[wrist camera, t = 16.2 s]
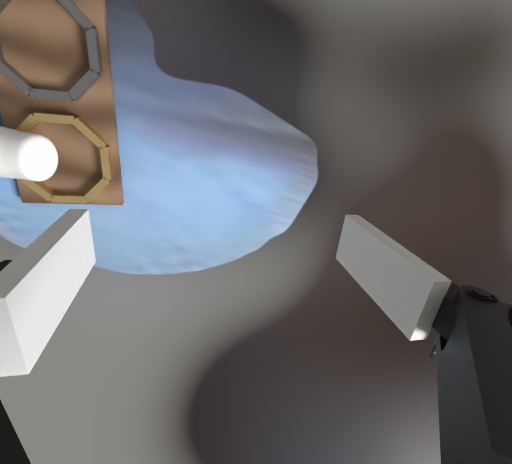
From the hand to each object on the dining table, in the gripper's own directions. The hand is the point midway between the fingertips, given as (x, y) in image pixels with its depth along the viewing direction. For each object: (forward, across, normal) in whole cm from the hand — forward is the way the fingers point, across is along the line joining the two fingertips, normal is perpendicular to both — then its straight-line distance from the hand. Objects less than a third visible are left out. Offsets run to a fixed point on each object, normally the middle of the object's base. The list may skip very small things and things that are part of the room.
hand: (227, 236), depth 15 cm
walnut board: (+32, -19, +4) cm, 37 cm away
